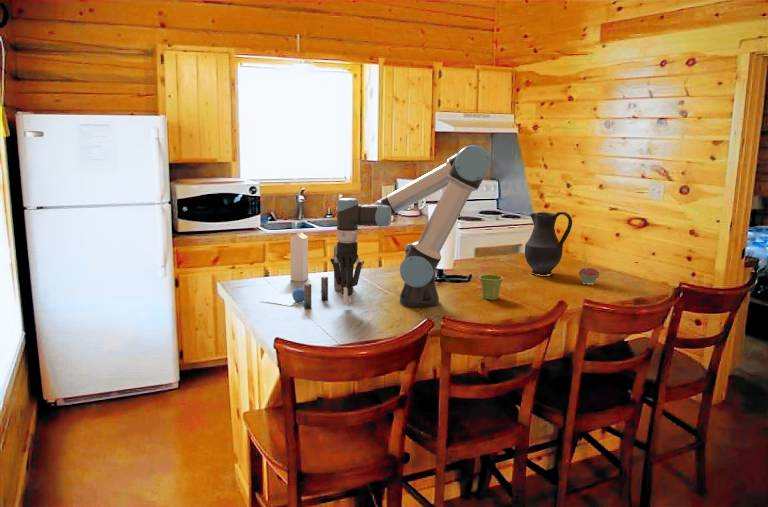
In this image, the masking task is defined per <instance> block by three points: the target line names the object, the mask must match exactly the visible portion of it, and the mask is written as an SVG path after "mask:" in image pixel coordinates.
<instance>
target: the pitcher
mask: <svg viewBox="0 0 768 507" xmlns="http://www.w3.org/2000/svg"><path fill="white" fill-rule="evenodd" d="M561 215H562V216H564V217H566V218H567V222H568V223H567V226H566V229H565V231H564V233H563V235H562V236H561V238H560V240H559V239H558V237H557V233H556V230H555V225H556V222H557V218H558V217H559V216H561ZM529 216H530V218H531V221H532V223H533V229H532V232H531V234H530V237H529V239H528V240H527V242H526V243H525V245H524V258H525V261H526V263H527V265H529V267H530V268H531V269H532V270H531V272H532V273H534V274H540V275H547V274H551V273H552V271H553V270H554V269H555V268H557V266H558V265H559V263H560V262H561V259H562V257H563V248H564V244H565V242H566V240H567V238H568V236H569V235H570V232H571V230H572V226H573V218H572V217H571V215H570V214H569V213H568V212H566V211H558V212H556V213H553V212H547V211H538V212H534V213H530V214H529ZM552 274H553V273H552Z"/></svg>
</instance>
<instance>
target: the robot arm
mask: <svg viewBox="0 0 768 507" xmlns="http://www.w3.org/2000/svg"><path fill="white" fill-rule="evenodd" d="M491 165H492V159H491V156H490V153H489V151H488V150H487V149H486V148H484V147H483V146H482V145H481V144H476V143H475V144H474V143H473V144H472V143H471V144H468V145H465V146H464V147H462V148H461V149H460V150H459V151H457V153H454V155H452V156H450V157H448V158H447V160H446V162H445V163H444V164H441V165H439V166H438V167H436V168H434V169H433V170H431V171H430V172H427V173H426V174H424V175H422V176H420V177H418V178H416V179H415V180H413V181H411V182H409V183H407V184H406V185H404V186H402V187H400V188H398V189H396V190H395V191H393V192H391V193H390V194H388V195H386V196H383V197H382V198H380V199H378V200H376V201H374V202H373V203H371V204H361V203H359V200H358V199H357V198H354V197H353V198H352V197H343V198H339V199H338V200H337V203H336V204H337V205H336V240H337V242H336V245H337V254H336V257H335V258H334V257H333V258H331V259H330V260H329V261H330V262H331V264H332V267H333V268H332V269H333V274H334V273H335V278H336V282H337V284H338V285H341V287H342V291H341V295H342V296H343V306H344V305H346V306H348V305H350V304H351V298H352V297H351V296H353V292H354V287H355V286H357V285H358V284H359V280H360V276H361V275H360V274H361V271H362V267H363V265H364V264H365V260H361V259H360V258H359V255H358V251H359V250H358V244H359V243H358V240H359V239H358V234H359V233H358V230H359V229H358V227H359V226H367V227H369V226H371V227H390V225H391V223H392V217H393V216H394V215H395V214H397V213H399V212H401V211H403V210H405V209H407V208H408V207H411V206H412V205H415V204H416V203H418V202H420V201H421V200H423V199H425V198H428V197H429V196H431V195H433V194H435V193H437V192H438V191H440V190H442V189H444V190H443V192H442V194H441V196H440V198H439V200H438V201H437V204H436V206H435V208H434V209H433V212H432V213H431V216H430V218H428V222H427V223H426V225H425V228H424V229H423V231H422V233H421V235H420V237H419V239H418V240H417V241H415V242H412V243H407V244H406V245H405V248H404V252H405V253H404V254H405V256H404V259H403V260H402V262H401V264H400V266H399V275H400V277H401V279H402V281H403V282H404V284H403V286H402V290H401V292H400V295H399V303H400V304H401V305H403V306H406V307H409V308H419V309H422V308H432V307H436V306H437V305H439V303H440V296H439V293H438V289H437V286H436V269H437V267H438V266H439V263H440V262H441V259H442V255H441V250H442V249H443V246H444V245H445V243H446V241H447V240H448V238H449V236H450V234H451V231H452V229H453V228H454V226H455V224H456V223H457V220H458V218H459V216H460V214H461V213H462V210H463V209H464V207H465V205H466V203H467V201H468V199H469V197H470V195H471V194H472V192H474V191H478V190H479V187H480V186H481V185H482V182H483V180H484V179H485V177H486V176H487V175H488V173H489V171H490V169H491ZM338 261H339V262H340V267H339V263H338ZM355 265H356V266H355ZM354 267H355V269H354ZM340 268H341V272H340ZM346 285H347V286H346Z"/></svg>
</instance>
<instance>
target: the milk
mask: <svg viewBox="0 0 768 507" xmlns="http://www.w3.org/2000/svg"><path fill="white" fill-rule="evenodd" d="M289 241H290V242H289V245H290V246H289V249H290V250H289V251H290V252H289V254H290V256H289V258H290V260H289V261H290V263H289V264H290V281H291V280H294V281H295V282H302V281H303V282H305V281H307V280H308V279H309V236H308V235H306V234H305V233H303V229H302V228H300V229H298V230H296V233H295V235H294V236H291V237H290V238H289ZM294 281H293V282H294Z"/></svg>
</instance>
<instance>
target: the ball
mask: <svg viewBox="0 0 768 507" xmlns="http://www.w3.org/2000/svg"><path fill="white" fill-rule="evenodd" d="M292 297H293V299H294V301H296V302H299V303H304V288H300V287H298V288H296V289H294V290H293V292H292Z"/></svg>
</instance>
